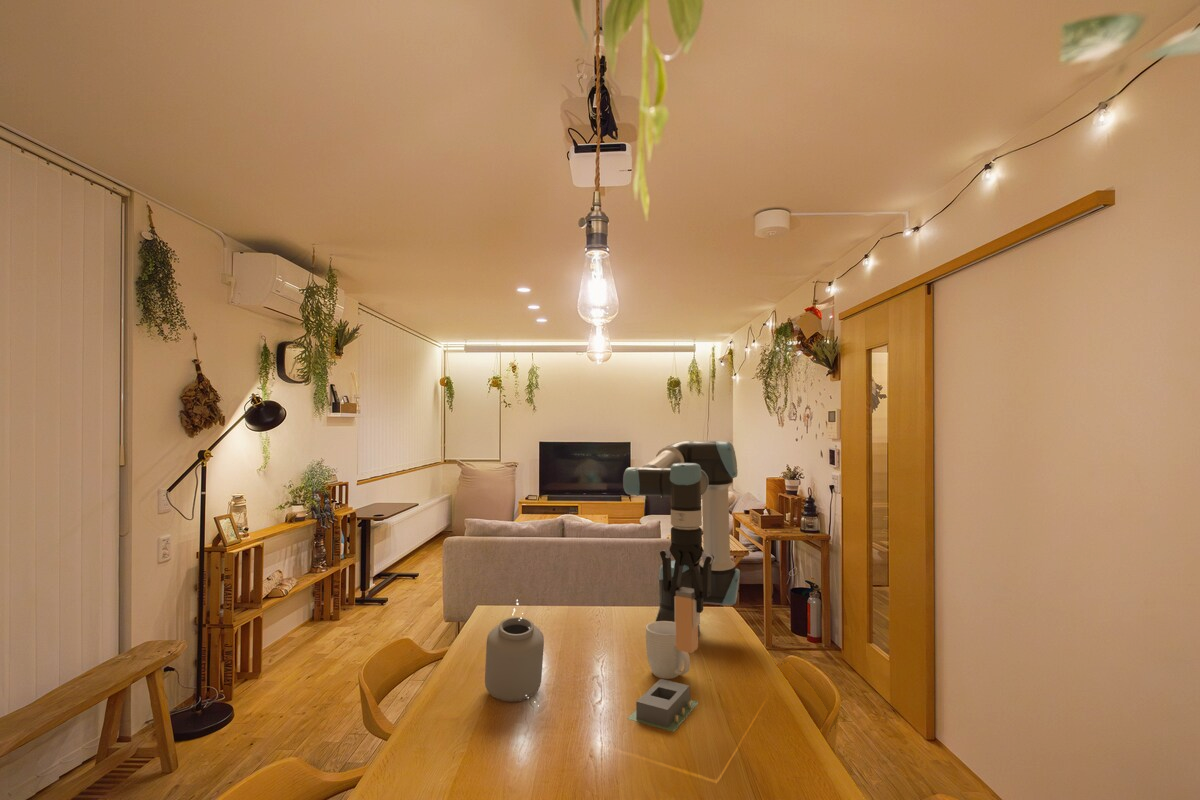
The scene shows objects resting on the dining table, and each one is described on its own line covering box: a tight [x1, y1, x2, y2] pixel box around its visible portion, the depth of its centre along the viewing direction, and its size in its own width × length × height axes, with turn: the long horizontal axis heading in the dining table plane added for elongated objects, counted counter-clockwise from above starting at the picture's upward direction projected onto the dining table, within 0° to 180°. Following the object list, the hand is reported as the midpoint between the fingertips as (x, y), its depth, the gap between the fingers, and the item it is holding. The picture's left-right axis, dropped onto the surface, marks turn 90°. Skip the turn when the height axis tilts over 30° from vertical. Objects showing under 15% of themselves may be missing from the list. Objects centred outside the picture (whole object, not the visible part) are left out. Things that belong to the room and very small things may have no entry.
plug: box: [676, 587, 699, 654], centre depth 140 cm, size 4×4×14 cm
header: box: [626, 678, 699, 733], centre depth 140 cm, size 16×12×4 cm
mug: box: [645, 621, 691, 680], centre depth 159 cm, size 15×11×13 cm
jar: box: [484, 599, 545, 707], centre depth 149 cm, size 19×15×25 cm
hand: (687, 623), depth 140 cm, fingers closed on plug, 4 cm apart
